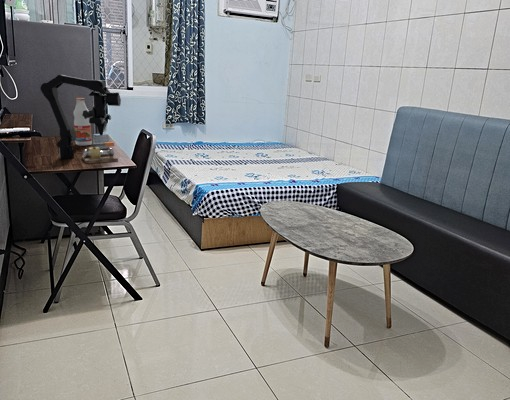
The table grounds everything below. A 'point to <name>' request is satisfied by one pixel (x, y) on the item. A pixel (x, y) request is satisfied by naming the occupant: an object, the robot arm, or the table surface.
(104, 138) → the medicine box
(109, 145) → the valve lever
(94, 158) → the valve board
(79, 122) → the fruit juice
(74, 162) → the table surface
